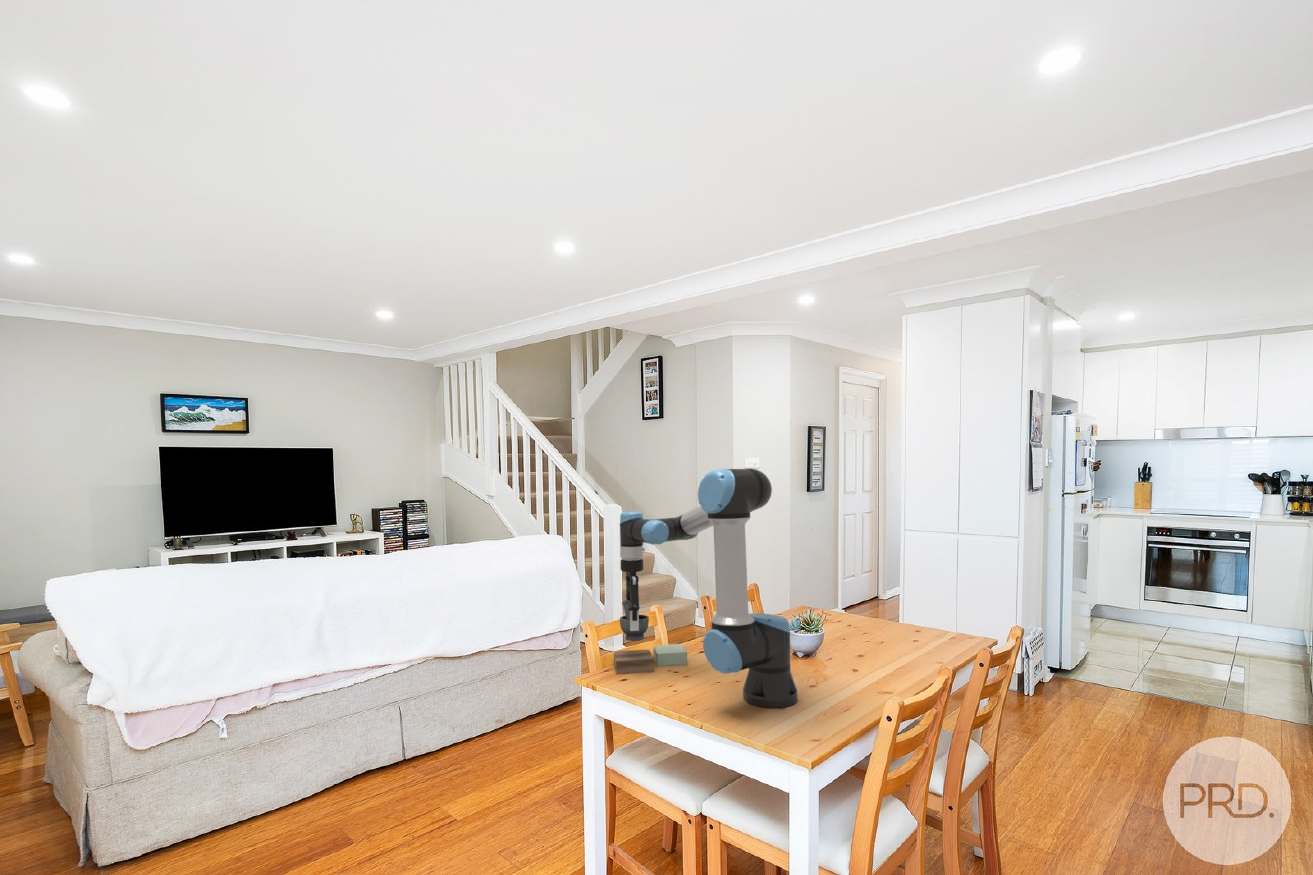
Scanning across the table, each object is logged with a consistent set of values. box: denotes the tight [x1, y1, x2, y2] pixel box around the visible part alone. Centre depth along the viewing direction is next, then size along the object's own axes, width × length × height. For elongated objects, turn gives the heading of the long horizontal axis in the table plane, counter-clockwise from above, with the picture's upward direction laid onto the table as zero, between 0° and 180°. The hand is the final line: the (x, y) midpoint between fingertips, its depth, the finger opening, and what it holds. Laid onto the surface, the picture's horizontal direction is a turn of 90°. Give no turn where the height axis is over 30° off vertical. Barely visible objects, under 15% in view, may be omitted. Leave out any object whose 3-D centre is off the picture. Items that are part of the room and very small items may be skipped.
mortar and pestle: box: [619, 599, 650, 642], centre depth 212 cm, size 11×9×12 cm
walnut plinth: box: [613, 649, 655, 675], centre depth 211 cm, size 11×12×4 cm
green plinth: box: [652, 643, 688, 667], centre depth 218 cm, size 10×10×4 cm
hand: (632, 626), depth 211 cm, fingers closed on mortar and pestle, 11 cm apart
